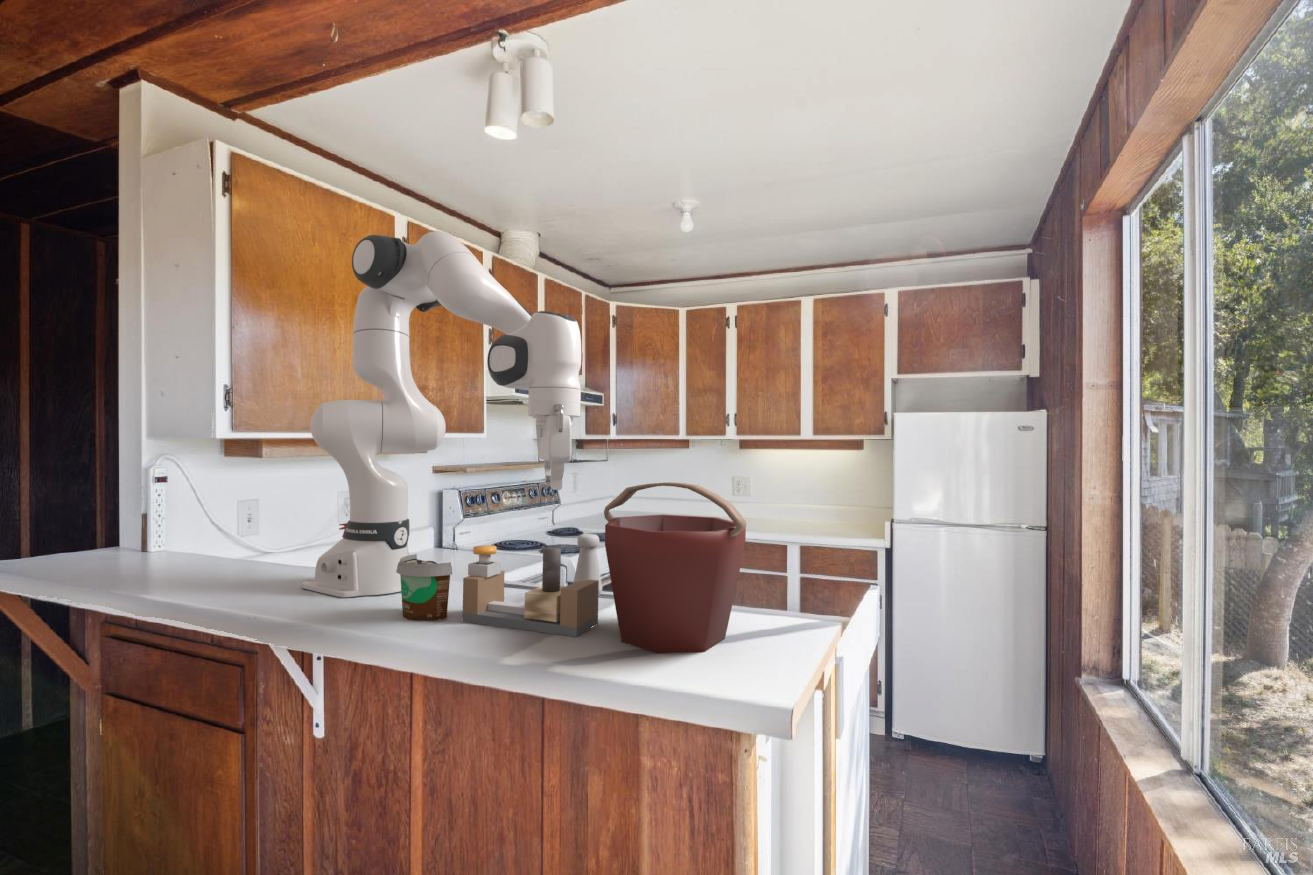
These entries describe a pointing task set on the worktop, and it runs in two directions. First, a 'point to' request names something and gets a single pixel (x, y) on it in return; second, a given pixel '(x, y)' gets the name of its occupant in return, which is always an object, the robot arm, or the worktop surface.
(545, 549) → the carriage
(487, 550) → the knob
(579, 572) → the salt shaker
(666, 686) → the worktop surface
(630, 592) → the bucket
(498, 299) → the robot arm
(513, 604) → the rail board
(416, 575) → the food container
